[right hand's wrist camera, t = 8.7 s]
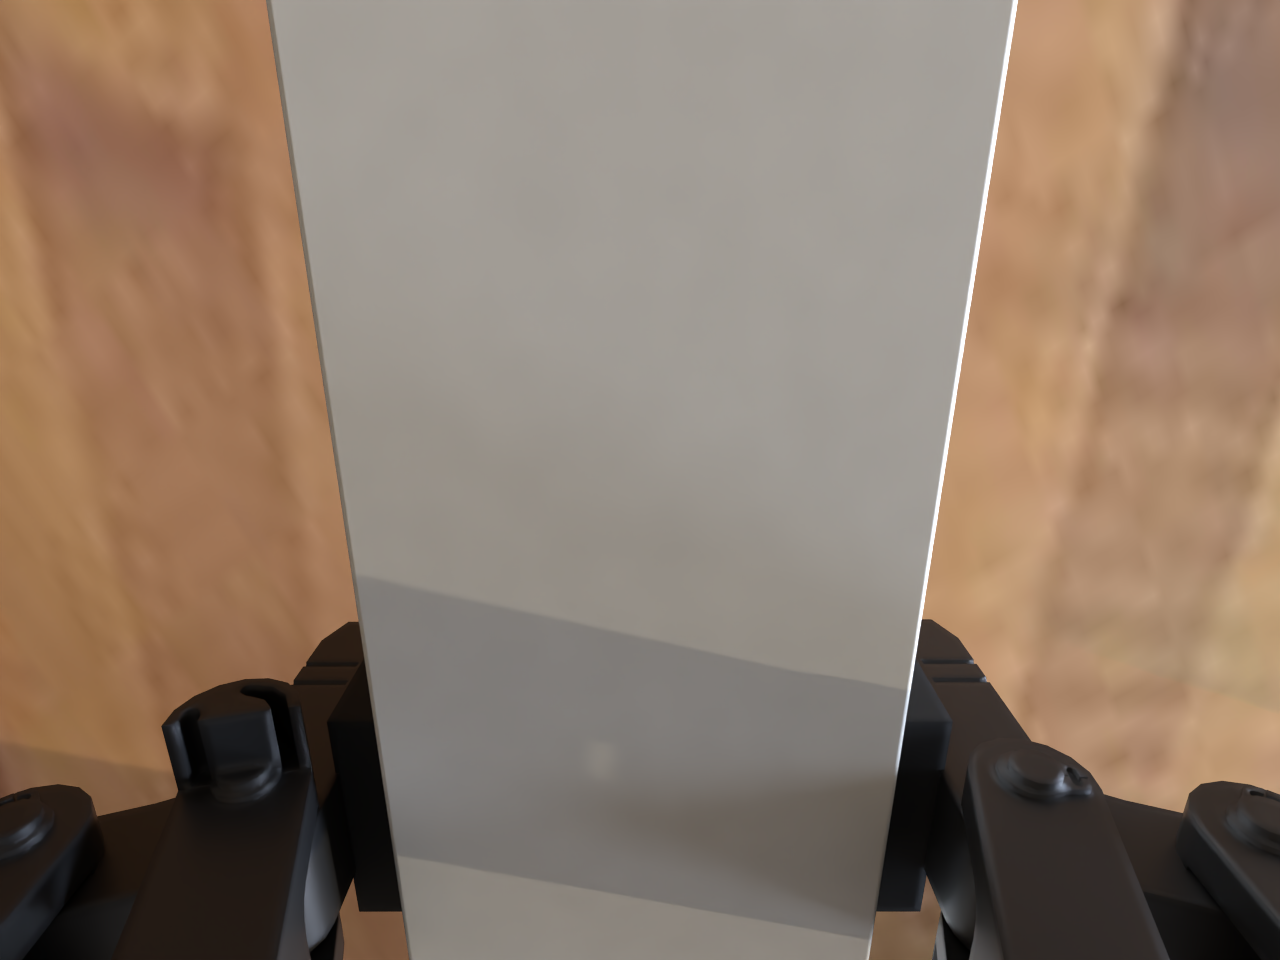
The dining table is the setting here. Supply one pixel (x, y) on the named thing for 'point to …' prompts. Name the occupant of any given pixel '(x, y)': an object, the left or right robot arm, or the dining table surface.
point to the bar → (640, 441)
